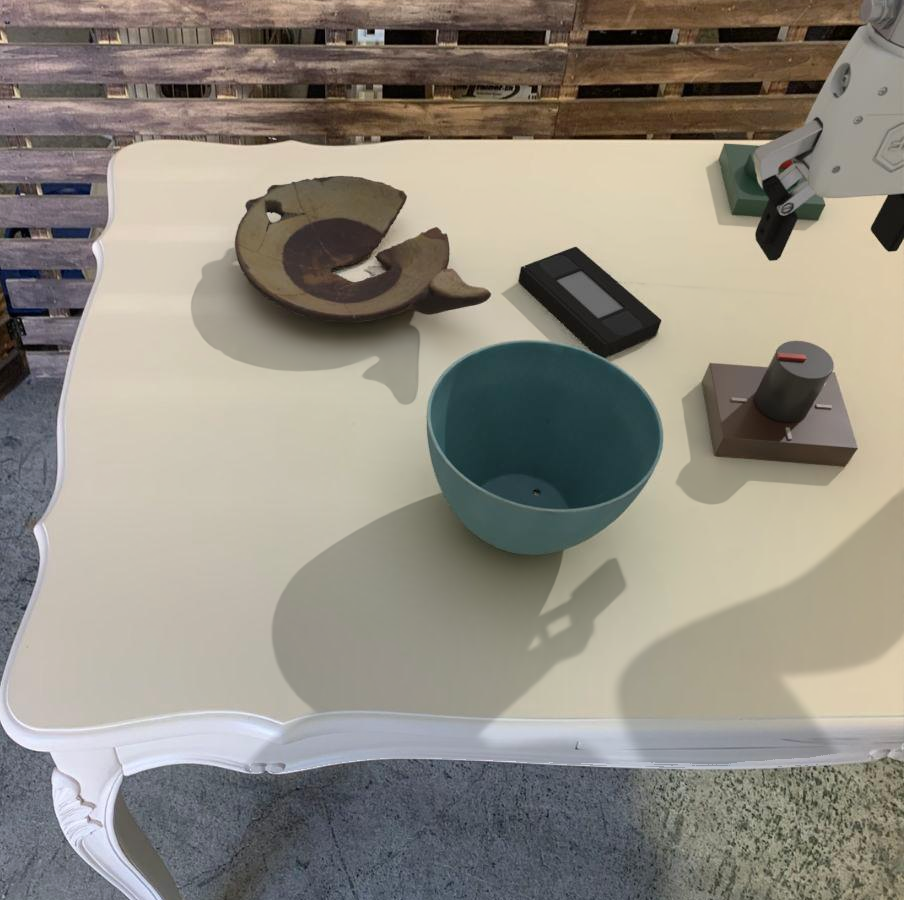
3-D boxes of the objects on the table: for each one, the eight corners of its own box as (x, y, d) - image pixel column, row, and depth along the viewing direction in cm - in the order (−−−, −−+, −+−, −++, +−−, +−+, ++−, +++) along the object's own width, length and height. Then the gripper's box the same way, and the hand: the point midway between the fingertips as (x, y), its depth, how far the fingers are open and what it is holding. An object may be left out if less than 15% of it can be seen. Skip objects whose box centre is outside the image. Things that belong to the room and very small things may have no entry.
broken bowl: (376, 193, 108) (377, 132, 102) (517, 340, 93) (529, 279, 87) (204, 246, 102) (194, 184, 96) (325, 414, 86) (323, 354, 80)
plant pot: (564, 419, 86) (591, 318, 76) (664, 566, 76) (711, 471, 66) (387, 468, 82) (392, 368, 73) (469, 629, 72) (487, 539, 62)
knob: (803, 386, 86) (829, 340, 81) (813, 424, 83) (841, 378, 78) (750, 382, 86) (772, 335, 81) (758, 420, 83) (782, 374, 78)
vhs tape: (572, 261, 101) (576, 246, 99) (657, 335, 94) (662, 320, 92) (518, 282, 99) (520, 266, 97) (600, 360, 91) (605, 345, 90)
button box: (799, 164, 113) (812, 134, 110) (817, 221, 106) (832, 190, 103) (718, 159, 113) (729, 129, 110) (731, 215, 106) (743, 184, 103)
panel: (824, 390, 89) (835, 370, 87) (846, 466, 83) (859, 447, 81) (701, 381, 90) (710, 361, 87) (714, 456, 84) (723, 436, 82)
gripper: (836, 50, 54) (737, 284, 68) (1100, 35, 56) (951, 267, 69) (785, -5, 58) (702, 225, 72) (1031, -18, 60) (904, 210, 74)
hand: (824, 245), depth 71 cm, fingers open, 9 cm apart
